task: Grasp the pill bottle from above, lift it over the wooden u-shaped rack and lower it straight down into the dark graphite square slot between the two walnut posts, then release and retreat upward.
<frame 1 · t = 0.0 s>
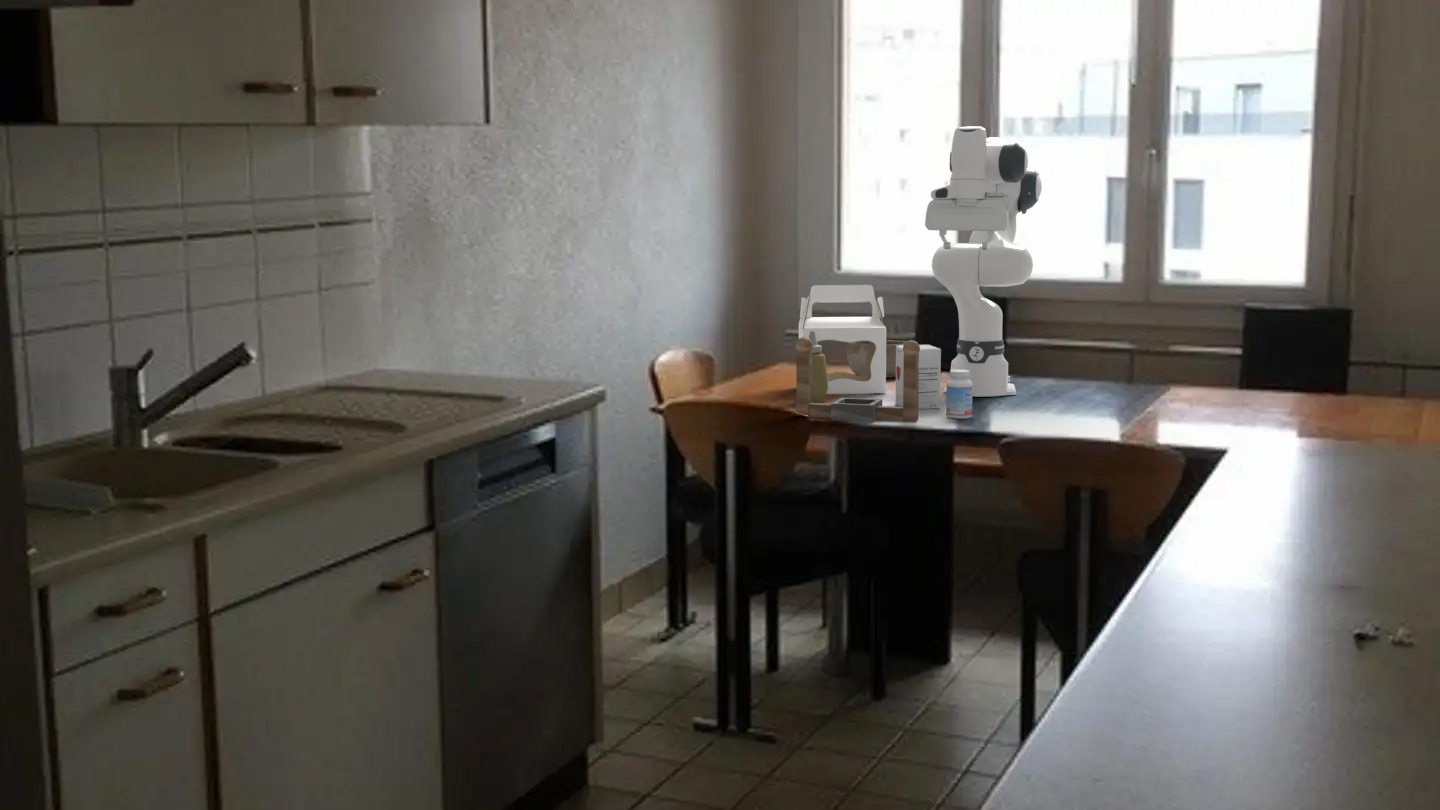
hand: (966, 249, 415), 39 cm above the table, tool pointing down, fingers open, 8 cm apart
wooden u-shaped rack: (856, 418, 404), on the table
squeeze bottle: (812, 402, 430), on the table
pill bottle: (959, 418, 404), on the table
supplement box: (917, 407, 422), on the table
gable box: (841, 391, 450), on the table
bowl: (877, 377, 476), on the table
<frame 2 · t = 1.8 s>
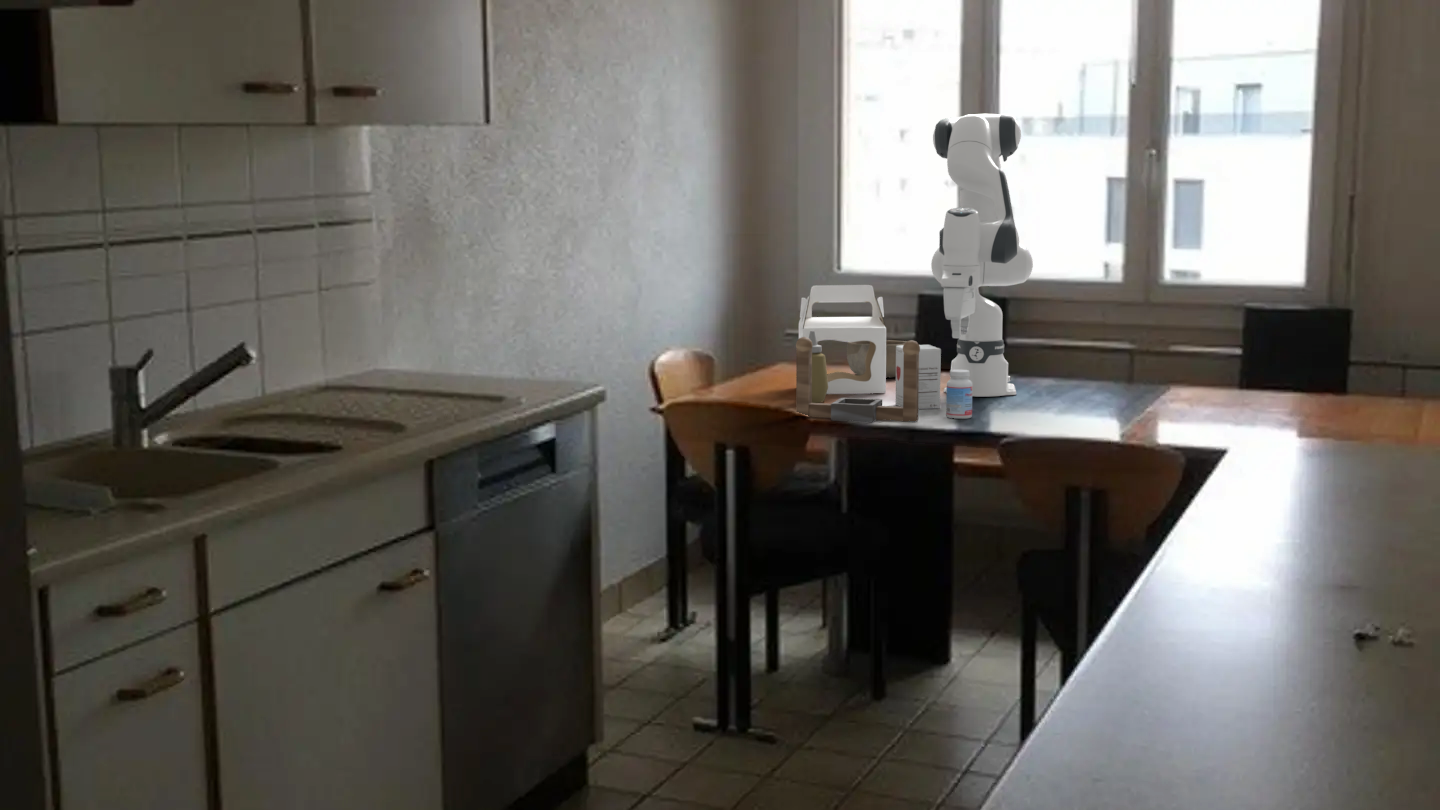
hand: (960, 336, 401), 19 cm above the table, tool pointing down, fingers open, 8 cm apart
nothing on the table moved.
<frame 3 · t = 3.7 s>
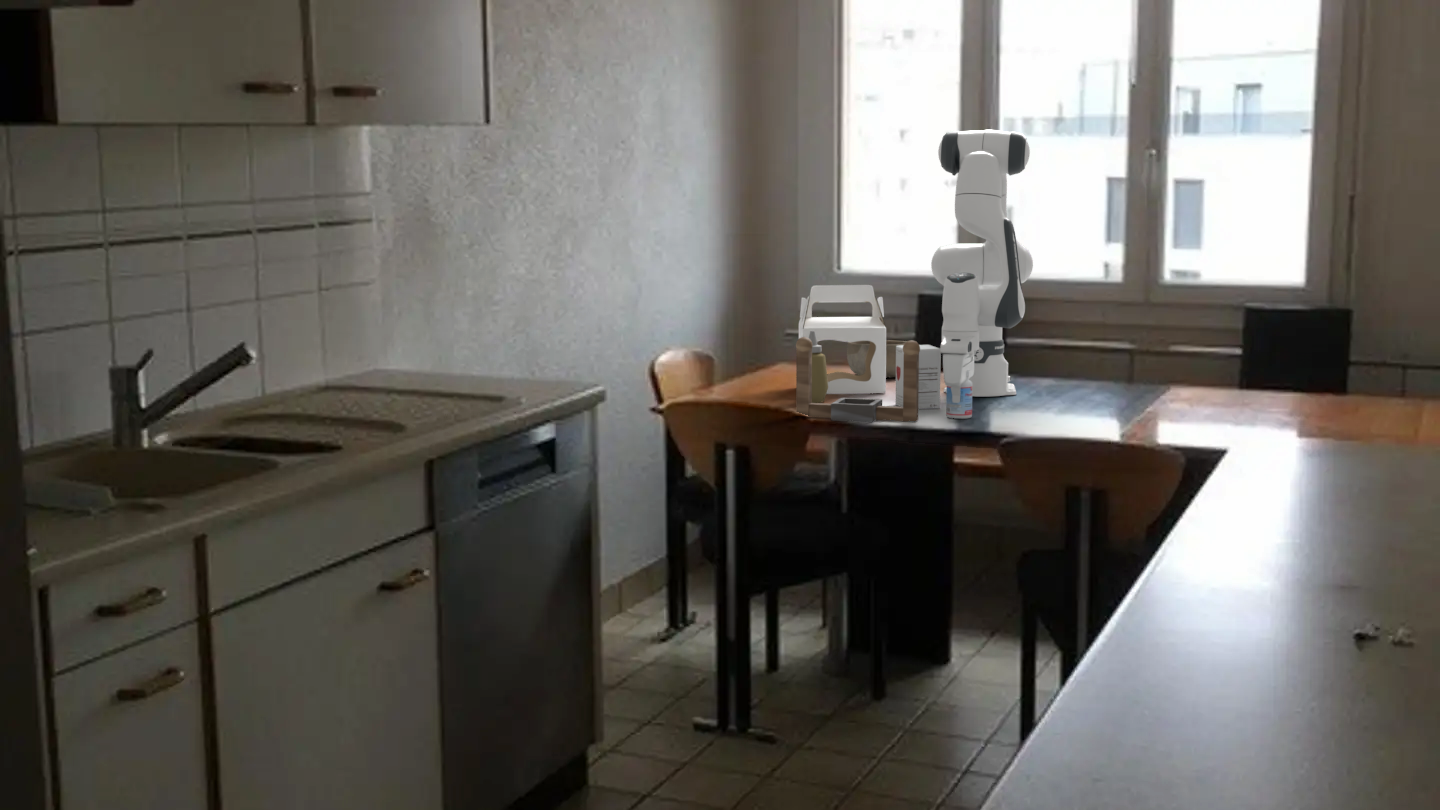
hand: (959, 400, 404), 4 cm above the table, tool pointing down, fingers closed on pill bottle, 6 cm apart
pill bottle: (959, 418, 404), on the table, touching gripper
everything else where it was.
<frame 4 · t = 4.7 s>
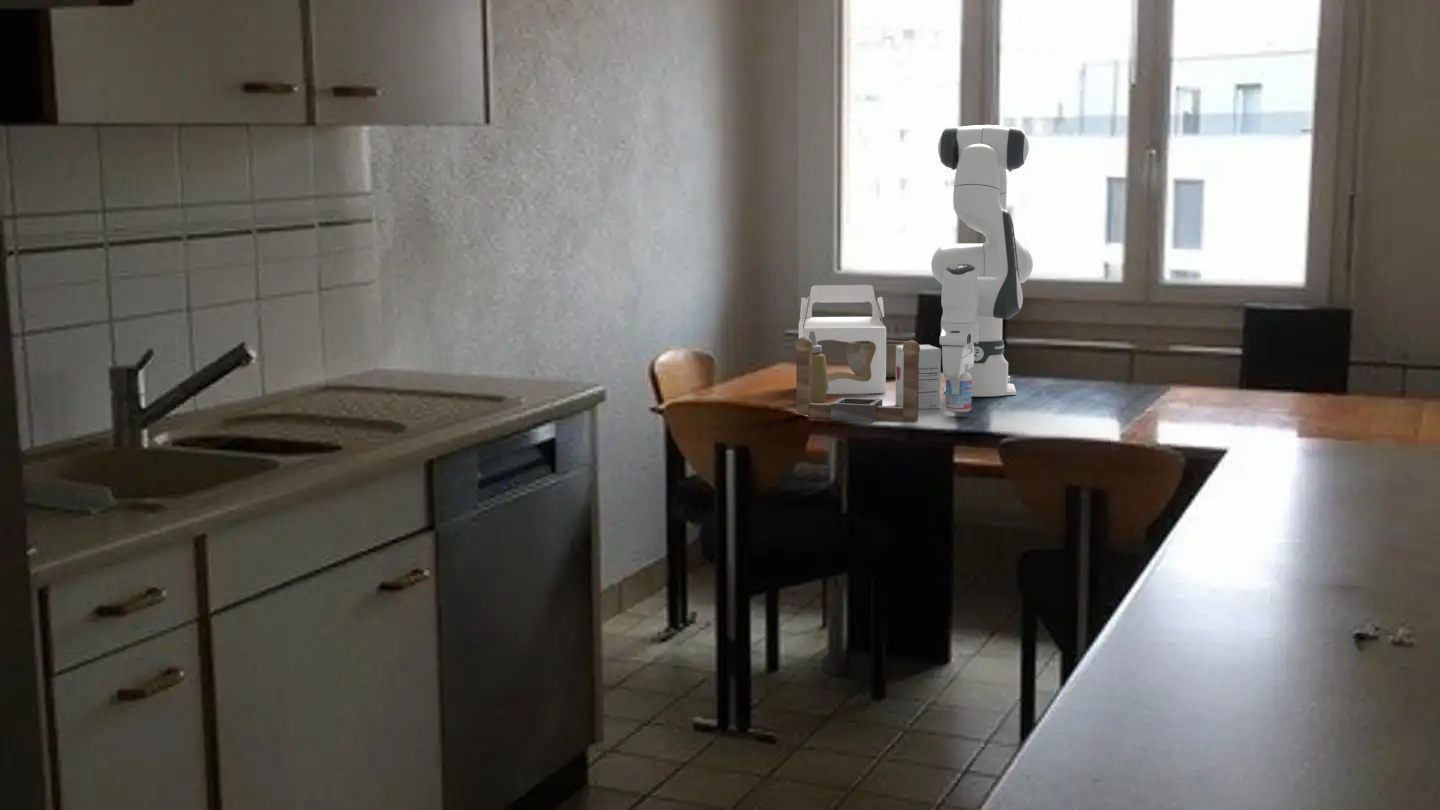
hand: (958, 391, 404), 6 cm above the table, tool pointing down, fingers closed on pill bottle, 6 cm apart
pill bottle: (958, 411, 405), point 1 cm above the table, touching gripper
everything else where it was.
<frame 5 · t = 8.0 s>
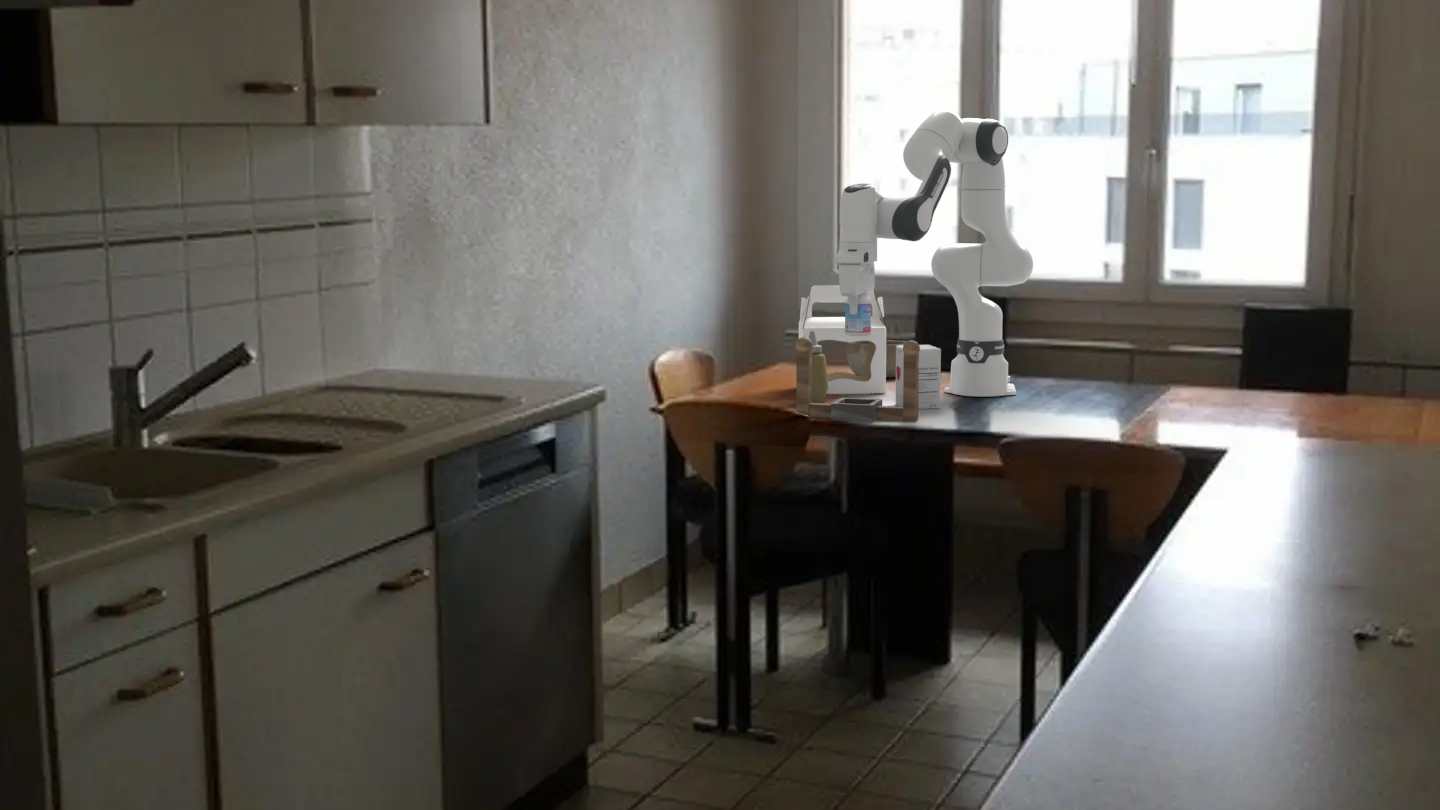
hand: (857, 312, 400), 25 cm above the table, tool pointing down, fingers closed on pill bottle, 6 cm apart
pill bottle: (857, 335, 401), point 20 cm above the table, touching gripper
everything else where it was.
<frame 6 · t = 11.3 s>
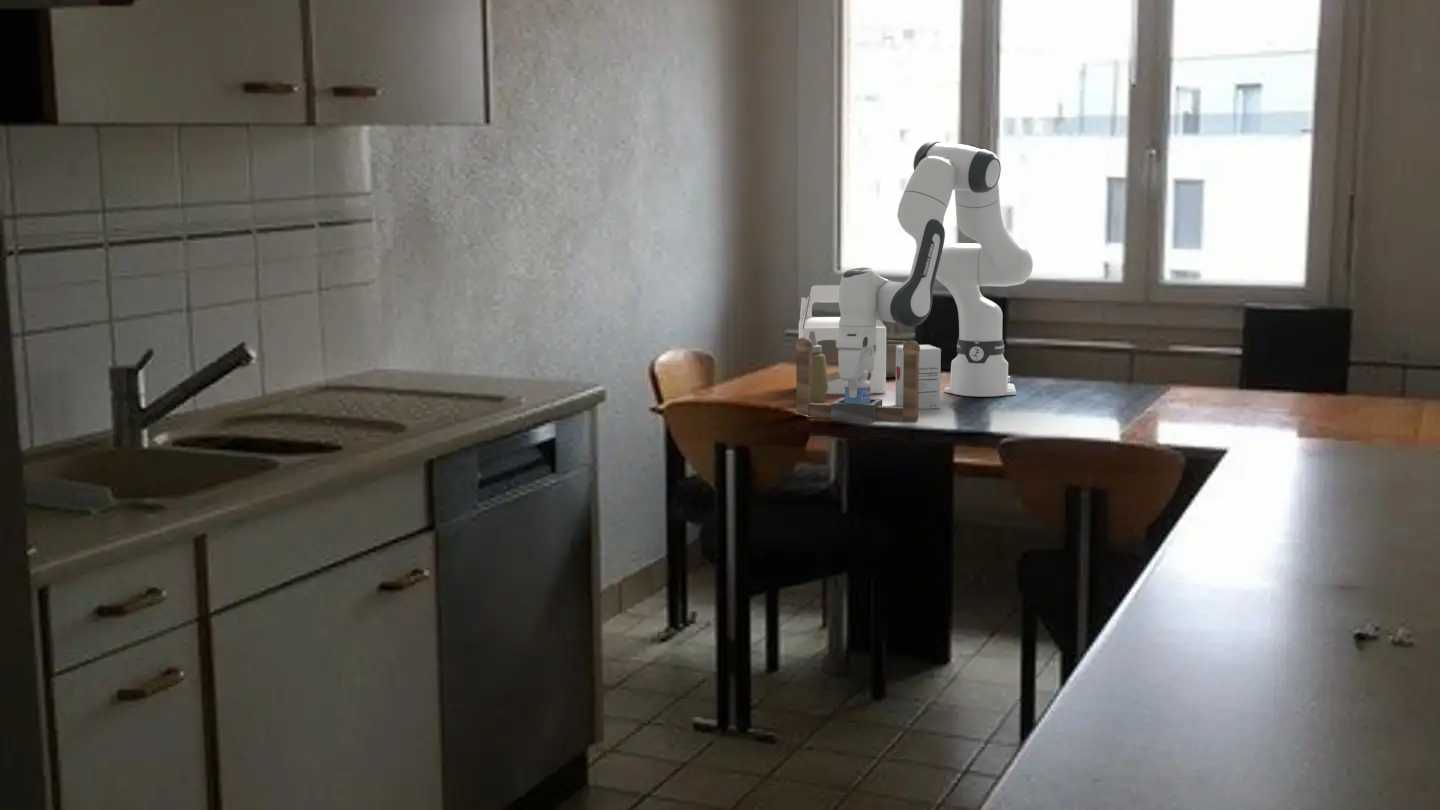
hand: (857, 395, 403), 6 cm above the table, tool pointing down, fingers closed on pill bottle, 6 cm apart
pill bottle: (857, 418, 404), resting in wooden u-shaped rack, touching gripper
everything else where it was.
when the fingers open (6 cm above the table, at t = 11.5 s): pill bottle stays where it is, resting in wooden u-shaped rack.
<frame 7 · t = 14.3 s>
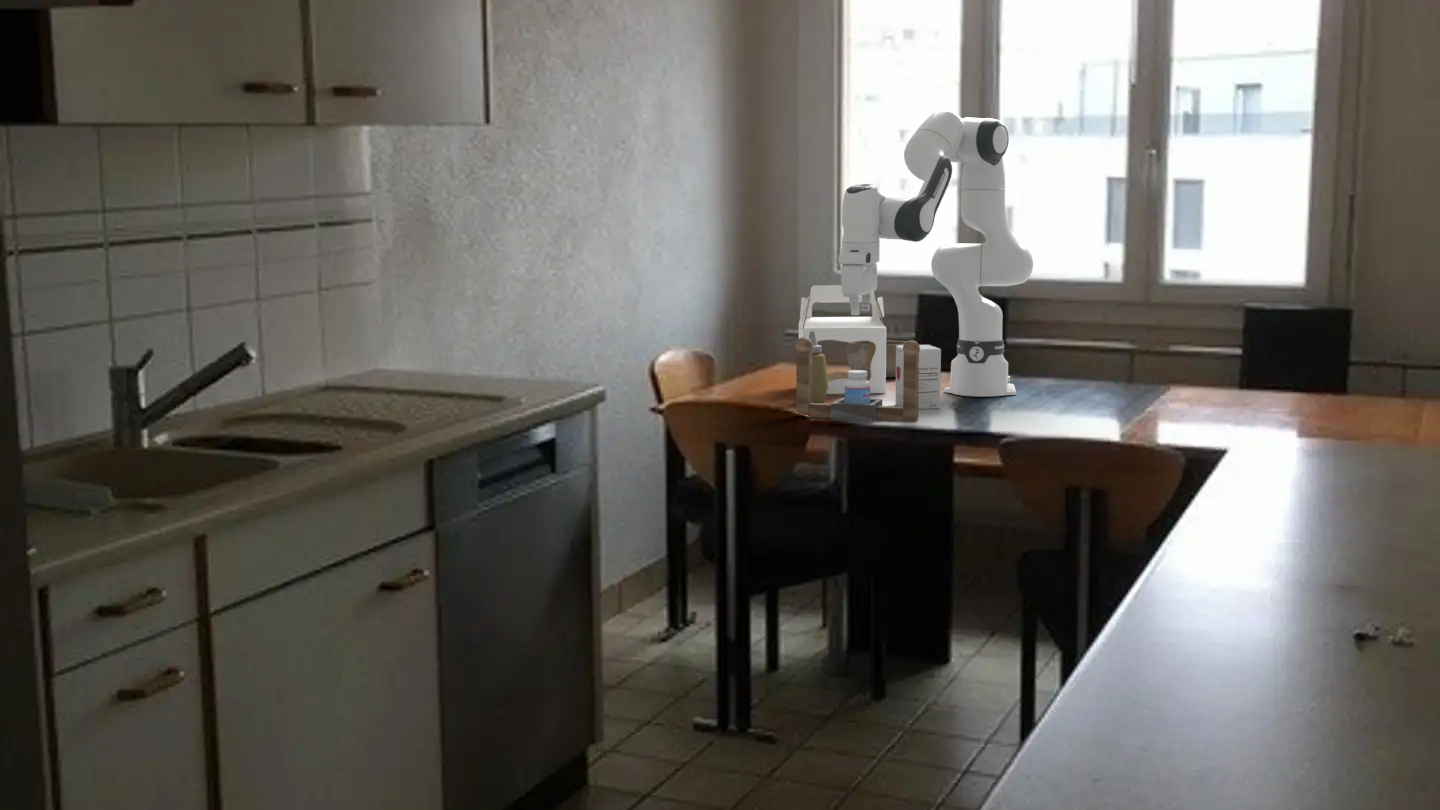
hand: (860, 313, 401), 25 cm above the table, tool pointing down, fingers open, 8 cm apart
pill bottle: (857, 418, 404), resting in wooden u-shaped rack
everything else where it was.
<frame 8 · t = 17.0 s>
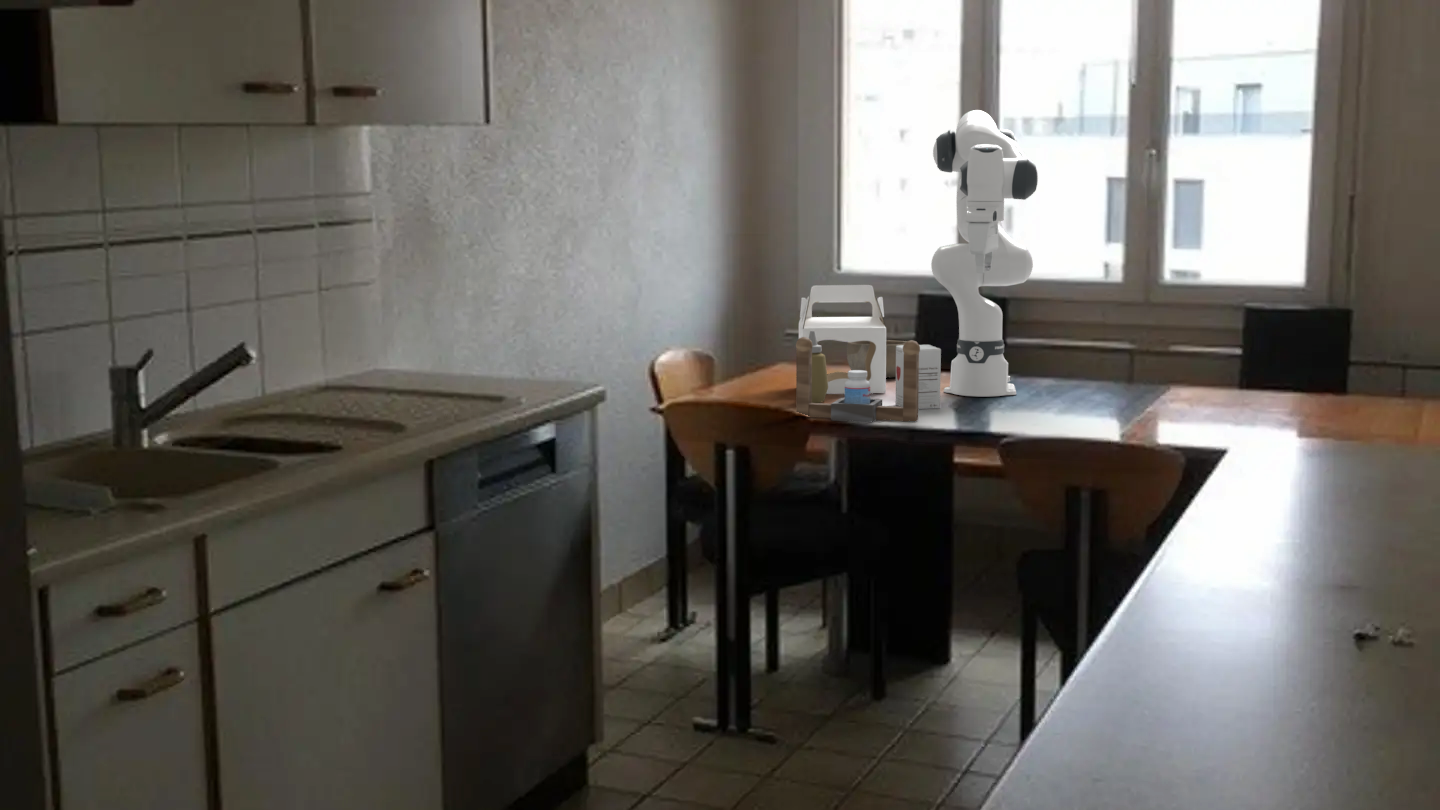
hand: (983, 271, 405), 34 cm above the table, tool pointing down, fingers open, 8 cm apart
nothing on the table moved.
at the end: pill bottle 0.3 cm off-centre on the wooden u-shaped rack, point 0.0 cm above the wooden u-shaped rack's base; pill bottle tilted 0°; the gripper is holding nothing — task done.
